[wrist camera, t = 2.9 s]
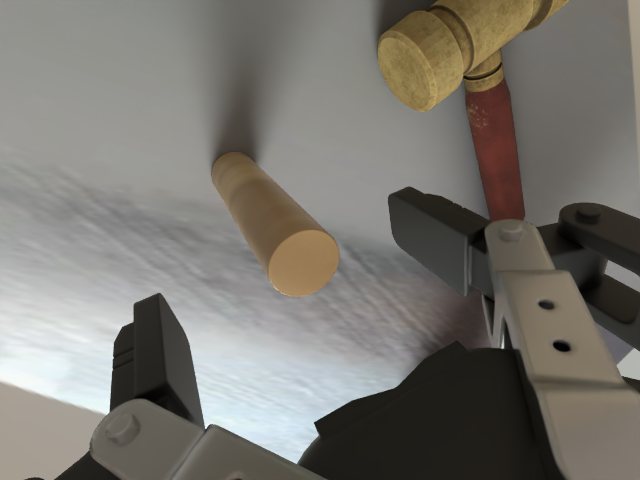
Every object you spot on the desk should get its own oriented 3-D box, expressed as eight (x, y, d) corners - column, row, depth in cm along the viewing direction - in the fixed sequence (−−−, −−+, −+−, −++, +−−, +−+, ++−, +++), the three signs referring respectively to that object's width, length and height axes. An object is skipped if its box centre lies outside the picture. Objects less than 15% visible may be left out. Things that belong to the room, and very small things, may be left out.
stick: (249, 199, 21) (324, 299, 13) (206, 190, 20) (258, 294, 12) (262, 158, 21) (350, 236, 12) (218, 146, 19) (282, 222, 11)
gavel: (579, 216, 30) (489, 292, 30) (530, 195, 34) (448, 262, 33) (584, -90, 17) (419, 34, 16) (502, -72, 21) (364, 31, 20)
